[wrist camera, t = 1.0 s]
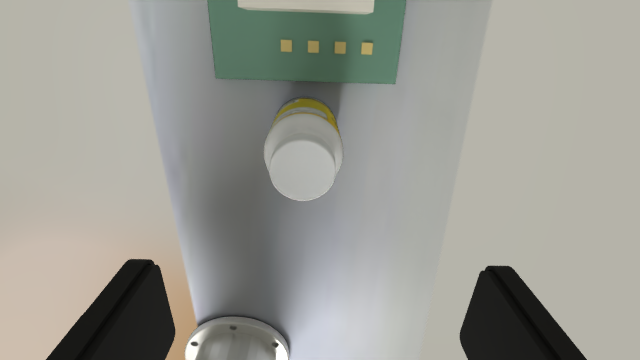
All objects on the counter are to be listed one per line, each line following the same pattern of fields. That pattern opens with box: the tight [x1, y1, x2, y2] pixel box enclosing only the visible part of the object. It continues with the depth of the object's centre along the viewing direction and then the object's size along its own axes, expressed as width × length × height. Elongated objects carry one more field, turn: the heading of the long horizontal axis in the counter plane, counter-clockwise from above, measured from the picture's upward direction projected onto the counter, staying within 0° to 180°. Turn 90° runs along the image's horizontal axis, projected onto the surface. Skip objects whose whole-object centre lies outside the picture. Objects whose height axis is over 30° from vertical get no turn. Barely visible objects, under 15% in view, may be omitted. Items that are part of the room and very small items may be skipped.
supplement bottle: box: [264, 97, 343, 201], centre depth 23 cm, size 5×5×10 cm
